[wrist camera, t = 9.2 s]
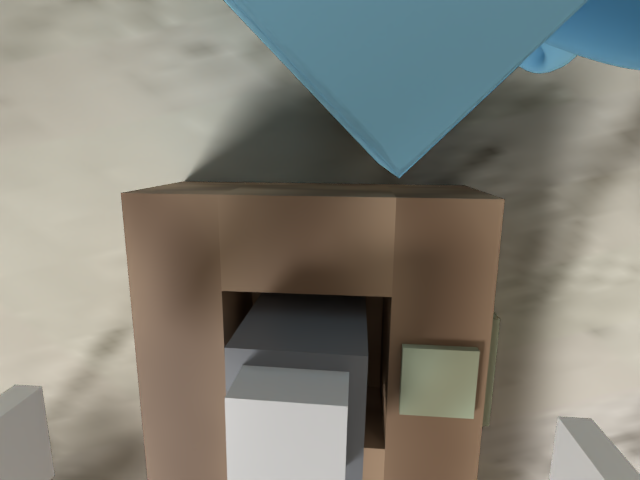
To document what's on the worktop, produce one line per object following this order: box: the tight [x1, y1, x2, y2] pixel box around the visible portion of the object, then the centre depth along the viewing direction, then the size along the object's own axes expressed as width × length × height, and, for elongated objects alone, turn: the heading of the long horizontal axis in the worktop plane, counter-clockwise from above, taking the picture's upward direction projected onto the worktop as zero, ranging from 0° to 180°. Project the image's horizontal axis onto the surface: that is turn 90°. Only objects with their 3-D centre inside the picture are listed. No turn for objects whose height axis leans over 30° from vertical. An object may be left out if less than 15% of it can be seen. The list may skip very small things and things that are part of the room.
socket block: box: [121, 182, 505, 480], centre depth 18 cm, size 12×24×5 cm, turn 0°
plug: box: [224, 292, 368, 480], centre depth 14 cm, size 4×4×8 cm
